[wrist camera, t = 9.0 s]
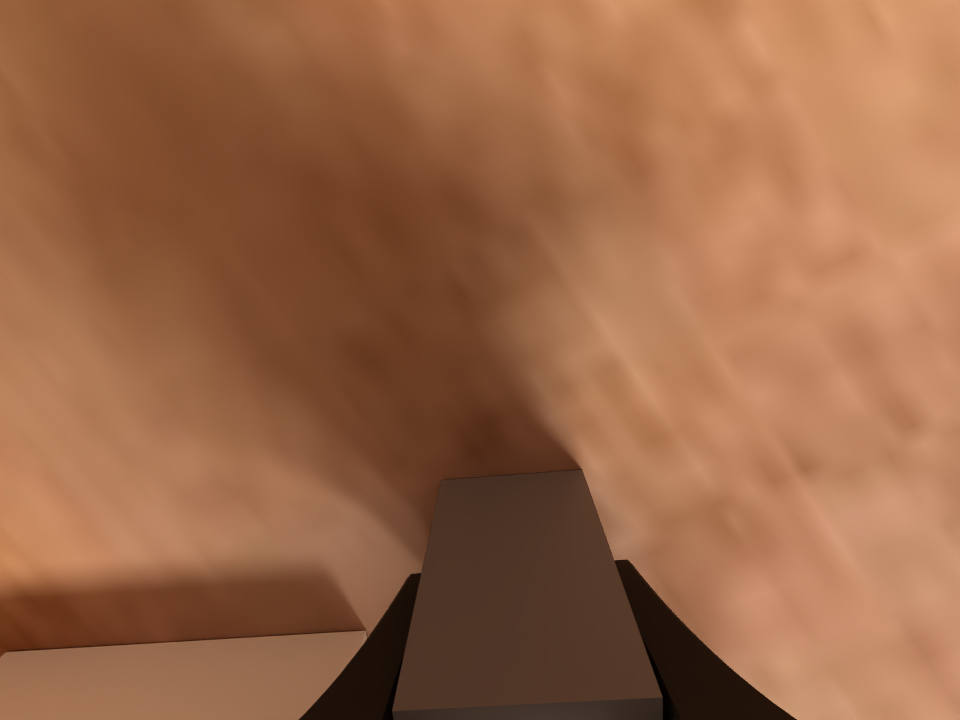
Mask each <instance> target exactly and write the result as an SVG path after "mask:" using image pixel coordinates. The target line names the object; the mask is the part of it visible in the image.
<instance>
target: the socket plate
mask: <svg viewBox="0 0 960 720" xmlns="http://www.w3.org/2000/svg"><path fill="white" fill-rule="evenodd" d="M366 640H367V635H366V631H351V632H334V633H318V634H301V635H284V636H267V637H251V638H234V639H217V640H201V641H184V642H167V643H150V644H134V645H117V646H100V647H84V648H67V649H50V650H33V651H17V652H6V653H5V654H3V655H2V656H1V657H0V720H299V719H300V718H301V717H302V716H303V715H304V714H305V713H306V712H307V710H308V709H309V708H310V707H311V706H312V705H313V704H314V703H315V702H316V701H317V700H318V699H319V697H320V696H321V695H322V694H323V693H324V692H325V691H326V690H327V689H328V687H329V686H330V685H331V684H332V683H333V682H334V680H335V679H336V678H337V677H338V676H339V674H340V673H341V672H342V671H343V670H344V668H345V667H346V666H347V664H348V663H349V662H350V661H351V659H352V658H353V657H354V655H355V654H356V653H357V652H358V650H359V649H360V648H361V646H362V645H363V644H364V642H365V641H366Z"/></svg>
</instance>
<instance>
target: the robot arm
mask: <svg viewBox="0 0 960 720" xmlns="http://www.w3.org/2000/svg"><path fill="white" fill-rule="evenodd" d="M614 561H615V564H616V567H617V570H618V573H619V575H620V578H621V581H622V584H623V587H624V590H625V592H626V595H627V598H628V601H629V604H630V607H631V609H632V612H633V615H634V618H635V621H636V624H637V626H638V629H639V632H640V635H641V638H642V641H643V643H644V646H645V649H646V652H647V655H648V658H649V660H650V663H651V666H652V669H653V672H654V675H655V677H656V680H657V683H658V686H659V689H660V692H661V694H662V697H663V720H797V719H795V718H794V717H792V716H791V715H790V714H788V713H787V712H785V711H784V710H783V709H781V708H780V707H778V706H777V705H776V704H774V703H773V702H771V701H770V700H769V699H768V698H766V697H765V696H764V695H762V694H761V693H760V692H759V691H757V690H756V689H755V688H754V687H752V686H751V685H750V684H749V683H748V682H746V681H745V680H744V679H743V678H742V677H740V676H739V675H738V674H737V673H736V672H734V671H733V670H732V669H731V668H730V667H729V666H728V665H726V664H725V663H724V662H723V661H722V660H721V659H720V658H719V657H718V656H717V655H715V654H714V653H713V652H712V651H711V650H710V649H709V648H708V647H707V646H706V645H705V644H704V643H703V642H702V641H701V640H700V639H699V638H698V637H697V636H696V635H695V634H694V633H693V632H692V631H691V630H690V629H689V628H688V627H687V626H686V625H685V624H684V623H683V622H682V621H681V620H680V619H679V618H678V617H677V616H676V615H675V614H674V613H673V612H672V610H671V609H670V608H669V607H668V606H667V605H666V604H665V603H664V602H663V601H662V599H661V598H660V597H659V596H658V595H657V594H656V593H655V591H654V590H653V589H652V588H651V587H650V586H649V584H648V583H647V582H646V581H645V580H644V578H643V577H642V576H641V575H640V574H639V572H638V571H637V570H636V568H635V567H634V566H633V565H632V563H630V562H629V561H628V560H614ZM420 577H421V573H417V574H411V575H410V576H409V577H408V578H407V579H406V581H405V583H404V584H403V586H402V588H401V589H400V591H399V592H398V594H397V596H396V597H395V599H394V600H393V602H392V603H391V605H390V606H389V608H388V609H387V611H386V612H385V614H384V616H383V617H382V618H381V620H380V621H379V623H378V624H377V626H376V627H375V628H374V630H373V631H372V633H371V634H370V636H369V637H368V638H367V640H366V641H365V642H364V644H363V645H362V646H361V648H360V649H359V650H358V652H357V653H356V654H355V655H354V657H353V658H352V659H351V661H350V662H349V663H348V664H347V666H346V667H345V668H344V670H343V671H342V672H341V673H340V674H339V676H338V677H337V678H336V679H335V680H334V682H333V683H332V684H331V685H330V686H329V687H328V689H327V690H326V691H325V692H324V693H323V694H322V695H321V696H320V697H319V699H318V700H317V701H316V702H315V703H314V704H313V705H312V706H311V707H310V708H309V709H308V710H307V712H306V713H305V714H304V715H303V716H302V717H301V718H300V719H299V720H394V719H393V713H392V709H393V704H394V700H395V695H396V690H397V686H398V681H399V676H400V672H401V667H402V662H403V657H404V653H405V648H406V643H407V639H408V634H409V629H410V625H411V620H412V615H413V610H414V606H415V601H416V596H417V592H418V587H419V582H420Z"/></svg>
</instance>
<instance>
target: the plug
mask: <svg viewBox="0 0 960 720" xmlns="http://www.w3.org/2000/svg"><path fill="white" fill-rule="evenodd" d="M392 713H393V719H394V720H663V697H662V694H661V692H660V689H659V686H658V683H657V680H656V677H655V675H654V672H653V669H652V666H651V663H650V660H649V658H648V655H647V652H646V649H645V646H644V643H643V641H642V638H641V635H640V632H639V629H638V626H637V624H636V621H635V618H634V615H633V612H632V609H631V607H630V604H629V601H628V598H627V595H626V592H625V590H624V587H623V584H622V581H621V578H620V575H619V573H618V570H617V567H616V564H615V561H614V558H613V556H612V553H611V550H610V547H609V544H608V541H607V539H606V536H605V533H604V530H603V527H602V525H601V522H600V519H599V516H598V513H597V510H596V508H595V505H594V502H593V499H592V496H591V493H590V491H589V488H588V485H587V482H586V479H585V476H584V474H583V471H582V469H581V470H568V471H555V472H542V473H529V474H516V475H503V476H489V477H476V478H463V479H450V480H441V483H440V488H439V493H438V497H437V502H436V507H435V512H434V516H433V521H432V526H431V530H430V535H429V540H428V545H427V549H426V554H425V559H424V563H423V568H422V573H421V577H420V582H419V587H418V592H417V596H416V601H415V606H414V610H413V615H412V620H411V625H410V629H409V634H408V639H407V643H406V648H405V653H404V657H403V662H402V667H401V672H400V676H399V681H398V686H397V690H396V695H395V700H394V704H393V709H392Z"/></svg>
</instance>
